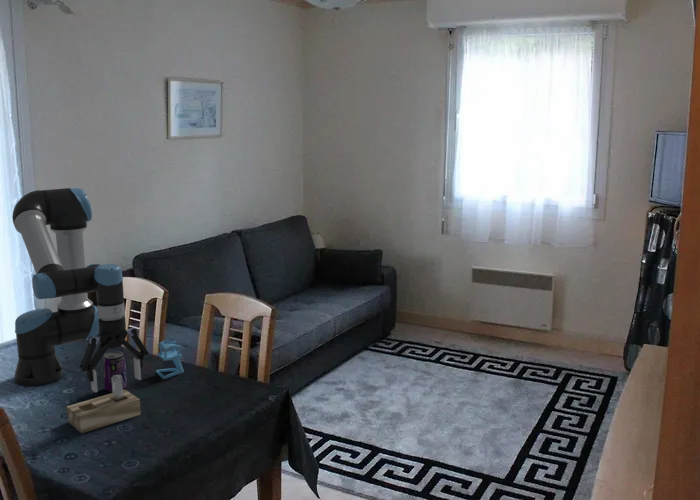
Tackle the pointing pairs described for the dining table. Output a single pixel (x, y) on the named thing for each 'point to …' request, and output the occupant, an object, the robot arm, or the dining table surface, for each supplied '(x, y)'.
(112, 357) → the beverage can
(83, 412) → the hole block
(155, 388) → the dining table surface
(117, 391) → the pin
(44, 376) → the robot arm
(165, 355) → the chair
